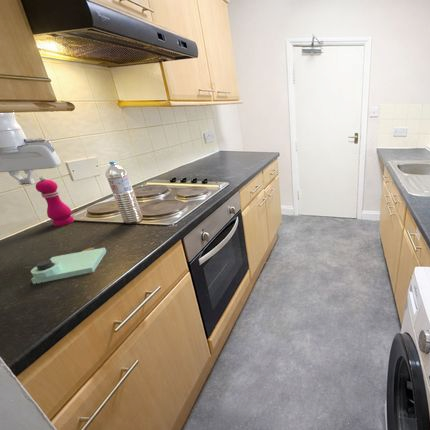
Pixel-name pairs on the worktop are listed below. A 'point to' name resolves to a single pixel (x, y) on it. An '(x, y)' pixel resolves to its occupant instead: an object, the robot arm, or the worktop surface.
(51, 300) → the worktop surface
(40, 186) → the pepper mill
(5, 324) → the worktop surface
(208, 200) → the worktop surface
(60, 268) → the scale
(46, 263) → the tare button
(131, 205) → the water bottle
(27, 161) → the robot arm
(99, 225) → the worktop surface
